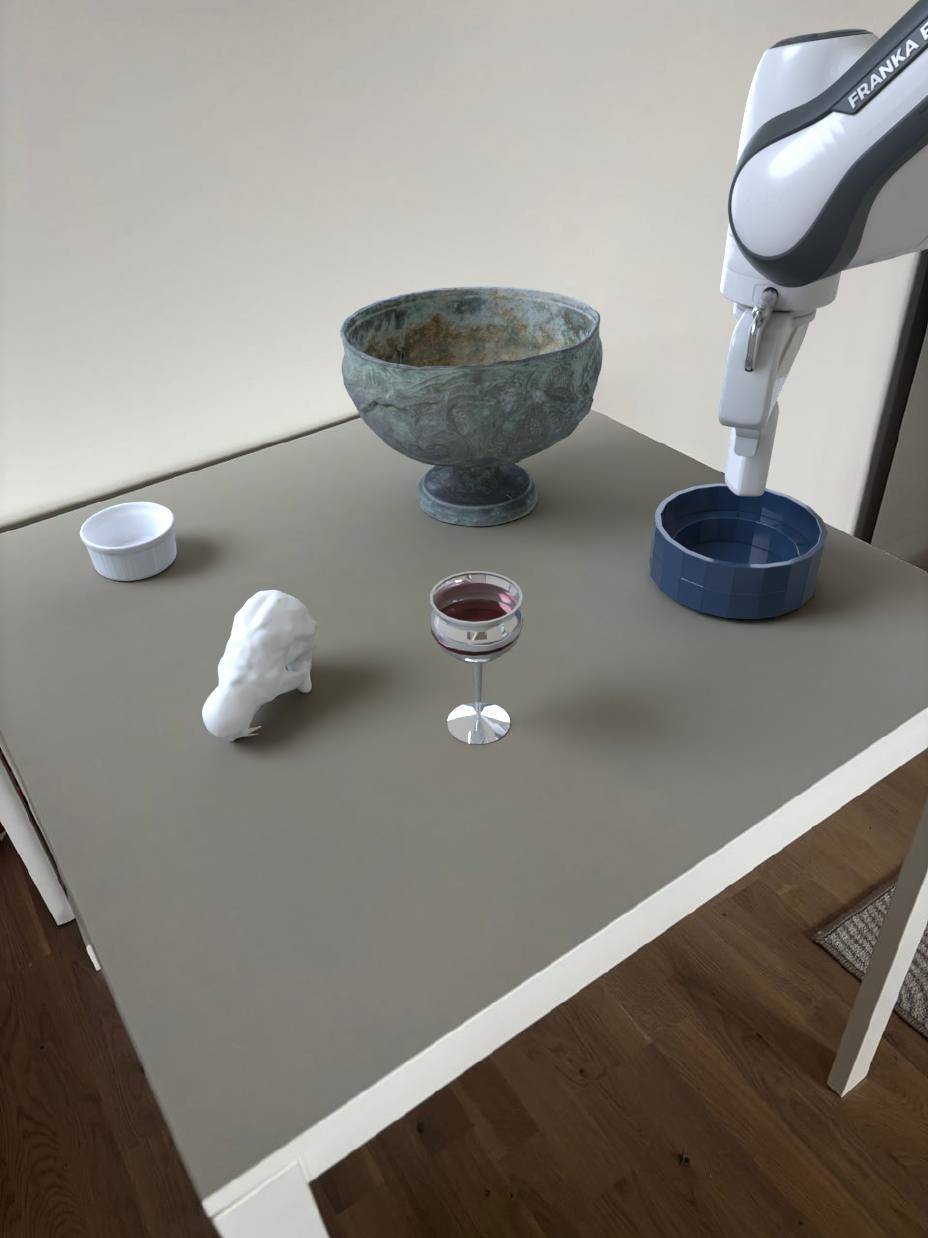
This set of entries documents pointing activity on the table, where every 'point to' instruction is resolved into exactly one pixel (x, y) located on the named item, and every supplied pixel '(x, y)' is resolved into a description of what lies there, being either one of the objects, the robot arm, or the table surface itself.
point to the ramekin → (130, 540)
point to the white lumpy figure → (261, 661)
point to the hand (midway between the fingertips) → (753, 435)
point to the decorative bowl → (473, 388)
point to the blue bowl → (736, 551)
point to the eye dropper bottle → (751, 461)
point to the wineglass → (476, 641)
